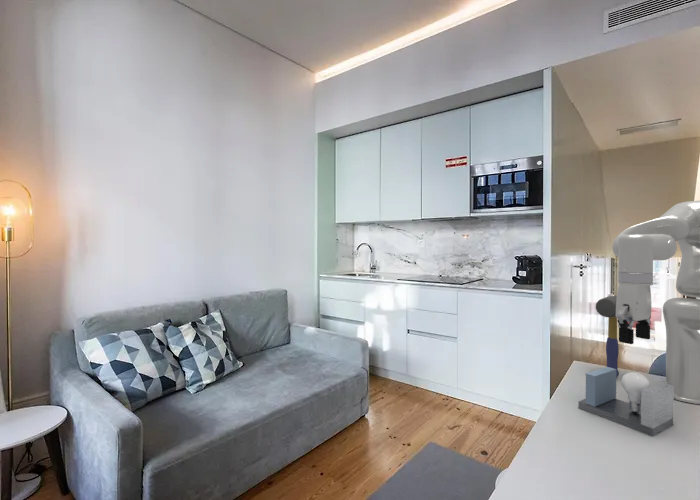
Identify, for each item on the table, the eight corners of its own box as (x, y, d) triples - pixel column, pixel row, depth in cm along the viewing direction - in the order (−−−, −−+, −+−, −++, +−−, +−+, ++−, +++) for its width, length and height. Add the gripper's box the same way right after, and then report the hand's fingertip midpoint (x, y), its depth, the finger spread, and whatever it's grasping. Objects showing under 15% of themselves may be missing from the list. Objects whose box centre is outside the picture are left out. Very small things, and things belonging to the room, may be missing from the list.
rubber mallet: (617, 384, 124) (618, 298, 124) (593, 377, 130) (593, 296, 130) (630, 377, 131) (631, 296, 131) (607, 371, 137) (607, 293, 137)
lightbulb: (643, 419, 95) (643, 378, 94) (616, 409, 100) (616, 370, 100) (654, 414, 98) (655, 374, 97) (627, 405, 103) (628, 367, 103)
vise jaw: (606, 395, 110) (607, 366, 110) (616, 398, 108) (616, 369, 107) (585, 403, 104) (585, 373, 104) (594, 406, 102) (595, 376, 102)
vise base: (599, 399, 111) (600, 364, 111) (673, 425, 96) (673, 384, 96) (578, 408, 106) (578, 371, 106) (652, 436, 90) (653, 393, 90)
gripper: (633, 276, 106) (633, 333, 106) (603, 279, 97) (603, 341, 97) (665, 278, 99) (665, 339, 99) (636, 281, 91) (636, 348, 91)
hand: (634, 340), depth 98 cm, fingers open, 9 cm apart
